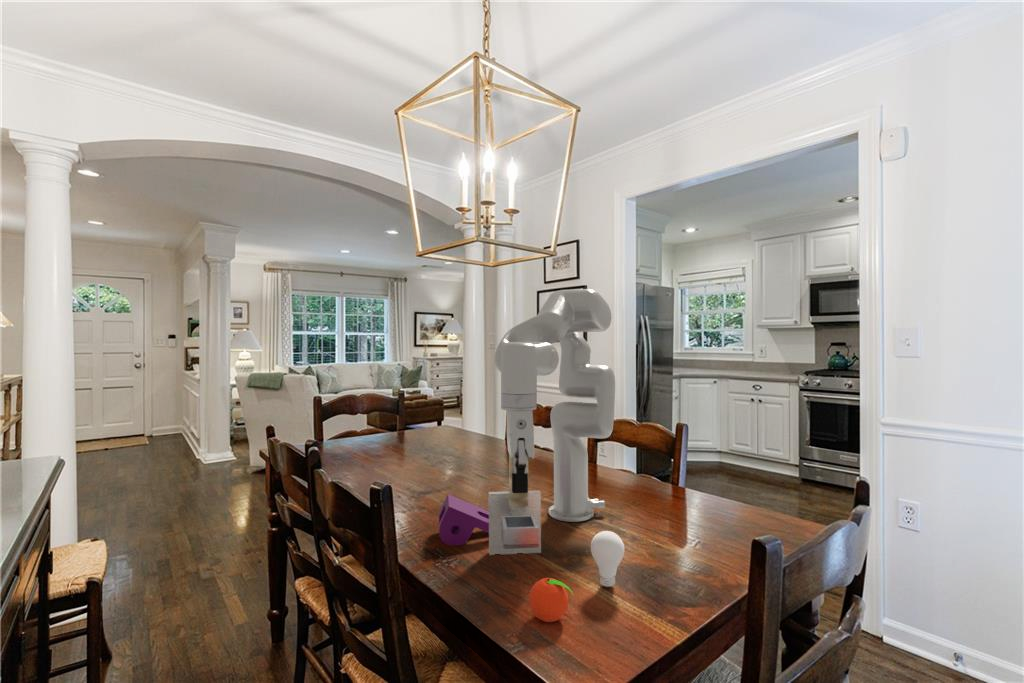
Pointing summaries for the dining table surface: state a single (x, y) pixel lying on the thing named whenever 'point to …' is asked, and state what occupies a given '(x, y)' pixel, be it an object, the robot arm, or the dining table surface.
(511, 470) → the maple peg
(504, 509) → the cup bracket
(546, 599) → the clementine
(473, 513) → the mounting bracket
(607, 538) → the light bulb
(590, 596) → the dining table surface
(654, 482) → the dining table surface
